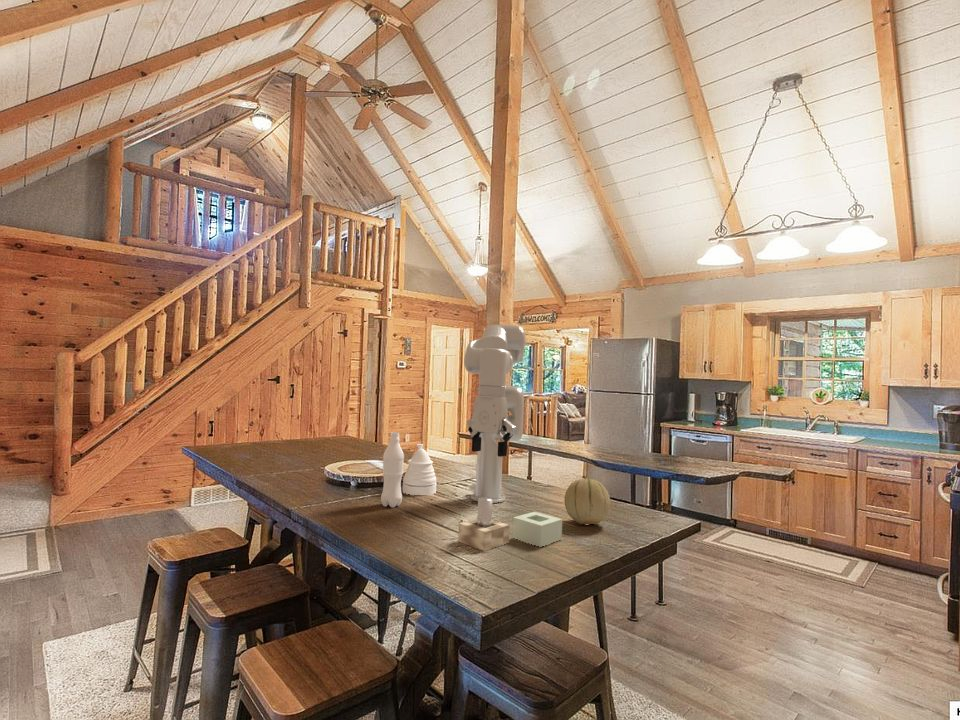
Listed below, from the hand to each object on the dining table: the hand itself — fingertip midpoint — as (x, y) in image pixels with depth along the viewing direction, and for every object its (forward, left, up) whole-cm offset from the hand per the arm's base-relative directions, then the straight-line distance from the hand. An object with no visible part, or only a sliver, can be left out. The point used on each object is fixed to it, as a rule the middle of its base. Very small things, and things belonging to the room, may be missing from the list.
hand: (488, 453), depth 143 cm
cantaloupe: (+9, +39, -25) cm, 47 cm away
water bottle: (-46, +3, -25) cm, 52 cm away
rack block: (+8, +14, -25) cm, 29 cm away
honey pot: (-56, +24, -25) cm, 66 cm away
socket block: (0, 0, -25) cm, 25 cm away
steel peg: (0, 0, -25) cm, 25 cm away
